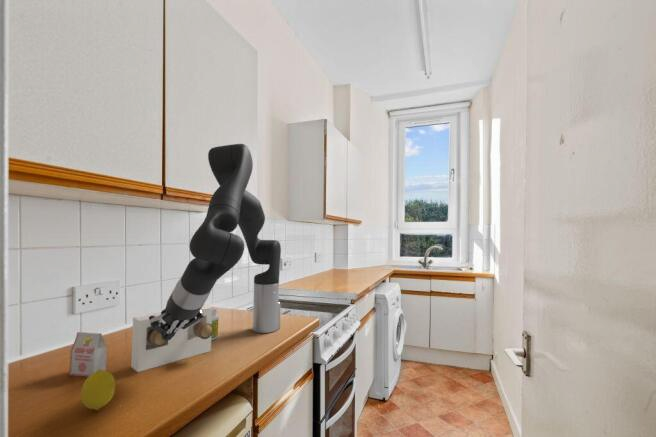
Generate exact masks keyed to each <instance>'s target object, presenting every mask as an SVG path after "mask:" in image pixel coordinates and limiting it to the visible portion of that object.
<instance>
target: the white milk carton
mask: <svg viewBox="0 0 656 437" xmlns="http://www.w3.org/2000/svg"><path fill="white" fill-rule="evenodd" d="M107 348H108V347H107V345H106V343H105V341H104V338H103V334H102V333H98V332H83V331H82V332H81V331H77V332H76V336H75V338H74V341H73V344H72V346H71V349H70V355H69V356H70V357H69V376H77V377H79V376H80V377H87V378H88V377H89V376H90V375H91V374H93V373H94V372H97V370H99V369H102V370H104V371H107V353H108V352H107V351H108V350H107Z"/></svg>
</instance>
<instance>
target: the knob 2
mask: <svg viewBox="0 0 656 437" xmlns="http://www.w3.org/2000/svg"><path fill="white" fill-rule="evenodd" d="M193 330H194V334H195V335H196V336H197V337H199V338H201V339H208V338H209V337H210V336H211V335H212V333H213V330H214V328H213V326H212V324H210V323H207V322H205V321H200V322H198V323H196V324H194V326H193Z"/></svg>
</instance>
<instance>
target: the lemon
mask: <svg viewBox="0 0 656 437" xmlns="http://www.w3.org/2000/svg"><path fill="white" fill-rule="evenodd" d="M115 392H116V380H115V377H114V375H113V374H112V373H111V372H110V371H108V370H106V371H104V370H102V369H99V370H97V372H94V373H93V374H91V375H90V376H89V377H87V378H86V379H85V381H84V383H83V385H82V388H81V396H80V397H81V401H82V405H84V407H85V408H87V409H91V410H95V411H97V412H98V411H100V410H101V408H103V407H104V406H106V405H107V404H109V402H111V400H112V399H113V397H114V394H115Z"/></svg>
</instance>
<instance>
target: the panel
mask: <svg viewBox="0 0 656 437" xmlns="http://www.w3.org/2000/svg"><path fill="white" fill-rule="evenodd" d="M212 308H213V307H212V306H209V305H205V304H204V305H203V306H202V308H201V310H202V313H203V315H204V316H203V317H202V318H201V319H199V320H198V321H196V322H195V323H193V324H192V325H190V326H189V327H187V328H186V329H182V328H181V329H180V330H179V331H178V332H176V334H175V335H174V336H173V337H172V338H171V340H168V342H167V343H166V344H165V345H164V346H161V347H156V346H154V345H152V344H151V343H149V341H148V333H149V331H150V330H152V329H153V328H152V327H151V324H150V320H149V317H150V316H153V315H154V316H155V317H157V316H159V315H161V312H162V311H161V312H155V313H150V314H144V315H143V314H142V315H138V316H133V317H132V337H131V358H130V363H131V364H130V367H131V368H132V369H133V370H134V371H135V372H137V373H140V372H143V371H147V370H151V369H153V368H157V367H161V366H165V365H167V364H171V363H175V362H179V361H182V360H184V359H188V358H191V357H194V356H198V355H201V354H205V353H208V352H211V351H212V340H211V336H210V337H209V338H208V339H201V338H199V337H197V336H196V335H195V334H194V330H193V326H194V324H196V323H198V322H200V321H205V322H207V323H210V324H212ZM162 322H163V324H165V321H164V320H162ZM188 322H189V321H187V322H186V323H188Z"/></svg>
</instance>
